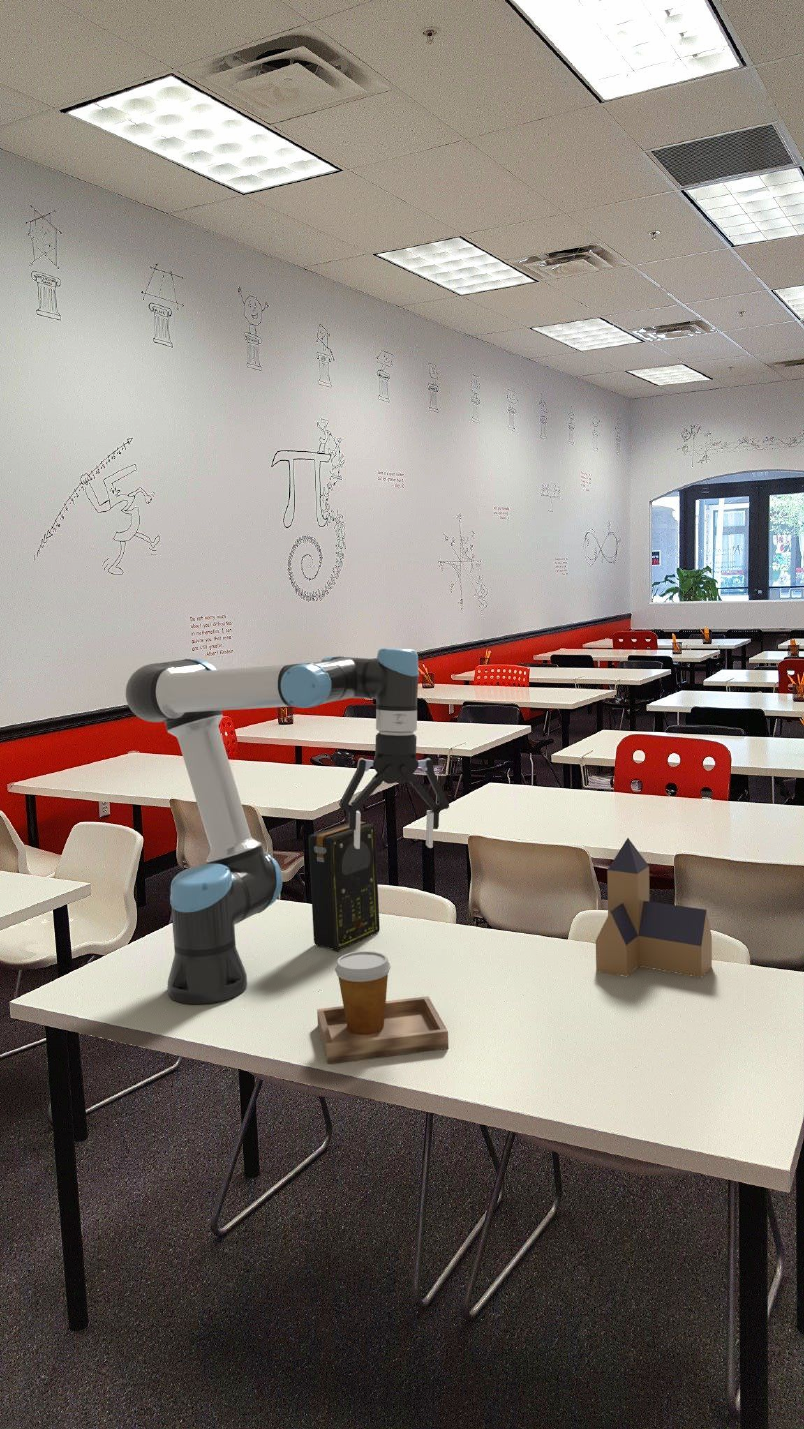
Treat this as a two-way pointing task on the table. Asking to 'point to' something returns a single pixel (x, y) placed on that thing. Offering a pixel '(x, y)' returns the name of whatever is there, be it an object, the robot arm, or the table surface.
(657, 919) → the model church
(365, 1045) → the trough tray
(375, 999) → the disposable coffee cup
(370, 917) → the voltmeter
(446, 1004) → the table surface
